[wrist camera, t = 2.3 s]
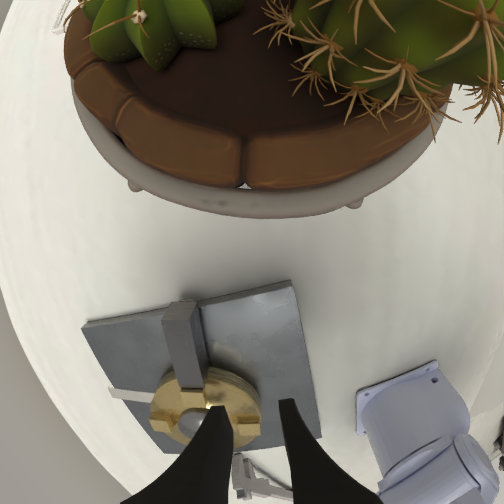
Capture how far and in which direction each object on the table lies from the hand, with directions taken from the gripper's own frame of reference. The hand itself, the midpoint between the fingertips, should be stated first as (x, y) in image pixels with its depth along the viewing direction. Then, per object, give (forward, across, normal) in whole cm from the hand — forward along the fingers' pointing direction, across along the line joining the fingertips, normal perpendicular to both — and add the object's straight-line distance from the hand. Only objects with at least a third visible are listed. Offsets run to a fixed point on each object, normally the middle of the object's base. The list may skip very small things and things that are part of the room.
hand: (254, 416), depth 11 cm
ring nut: (+8, +5, +4) cm, 10 cm away
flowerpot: (+10, -3, -16) cm, 19 cm away
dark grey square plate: (+9, +5, +7) cm, 13 cm away
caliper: (+10, +1, +28) cm, 29 cm away
